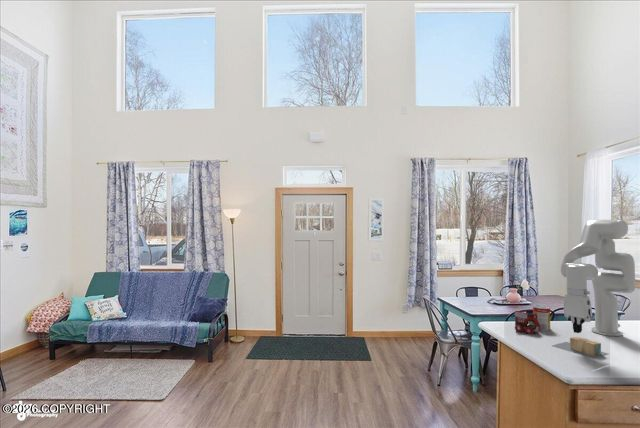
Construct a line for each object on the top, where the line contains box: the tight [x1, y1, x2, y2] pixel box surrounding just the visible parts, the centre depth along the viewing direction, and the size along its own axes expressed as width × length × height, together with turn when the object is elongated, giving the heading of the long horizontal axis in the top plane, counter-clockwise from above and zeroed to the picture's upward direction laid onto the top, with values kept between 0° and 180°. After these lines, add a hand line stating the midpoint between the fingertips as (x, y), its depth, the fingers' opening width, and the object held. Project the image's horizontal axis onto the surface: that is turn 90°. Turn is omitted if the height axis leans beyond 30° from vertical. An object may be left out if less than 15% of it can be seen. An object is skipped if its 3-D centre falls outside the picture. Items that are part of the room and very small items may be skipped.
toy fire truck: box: [514, 310, 541, 335], centre depth 191 cm, size 7×12×10 cm, turn 37°
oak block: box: [569, 335, 602, 356], centre depth 162 cm, size 5×5×10 cm
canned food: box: [532, 304, 551, 332], centre depth 197 cm, size 8×8×12 cm
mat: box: [551, 341, 609, 359], centre depth 164 cm, size 12×18×1 cm, turn 27°
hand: (577, 332), depth 165 cm, fingers closed
